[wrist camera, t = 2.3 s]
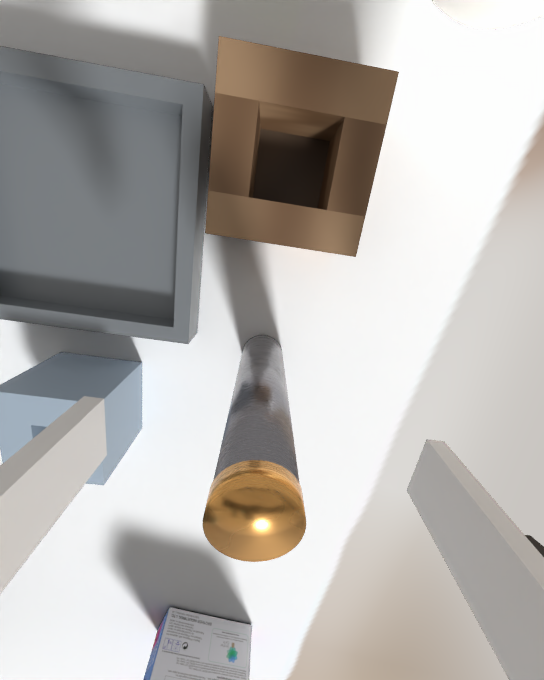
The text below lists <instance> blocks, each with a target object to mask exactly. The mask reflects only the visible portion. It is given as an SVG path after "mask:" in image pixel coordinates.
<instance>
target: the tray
mask: <svg viewBox="0 0 544 680" xmlns="http://www.w3.org/2000/svg"><path fill="white" fill-rule="evenodd" d="M212 108H213V106H212V104H211V101H210V99H209V96H208V94H207V91H206V89H205V86H204V84H199V83H194V82H189V81H183V80H178V79H173V78H167V77H162V76H157V75H152V74H146V73H141V72H136V71H130V70H125V69H120V68H114V67H109V66H104V65H98V64H93V63H88V62H83V61H77V60H72V59H67V58H61V57H56V56H51V55H45V54H40V53H35V52H29V51H24V50H19V49H14V48H8V47H3V46H0V319H4V320H11V321H19V322H26V323H34V324H41V325H49V326H56V327H64V328H71V329H79V330H86V331H94V332H101V333H109V334H117V335H124V336H132V337H139V338H147V339H154V340H162V341H169V342H177V343H184V344H189V343H190V341H191V340H192V339H193V337H194V336H195V335H196V334H197V328H198V313H199V299H200V284H201V269H202V255H203V240H204V225H205V211H206V196H207V182H208V167H209V152H210V138H211V123H212Z"/></svg>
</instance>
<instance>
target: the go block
mask: <svg viewBox="0 0 544 680" xmlns="http://www.w3.org/2000/svg"><path fill="white" fill-rule="evenodd" d="M398 73H399V72H397V71H392V70H387V69H382V68H377V67H372V66H367V65H362V64H357V63H352V62H347V61H342V60H337V59H332V58H327V57H322V56H317V55H312V54H307V53H302V52H297V51H292V50H287V49H282V48H277V47H272V46H267V45H262V44H257V43H252V42H247V41H242V40H237V39H232V38H227V37H222V36H219V42H218V57H217V71H216V85H215V100H214V114H213V128H212V143H211V157H210V171H209V186H208V200H207V215H206V229H205V233H207V234H214V235H220V236H226V237H233V238H239V239H245V240H252V241H258V242H265V243H271V244H277V245H284V246H290V247H296V248H303V249H309V250H316V251H322V252H328V253H335V254H341V255H347V256H354V257H356V254H357V249H358V245H359V241H360V236H361V232H362V228H363V223H364V219H365V215H366V211H367V206H368V202H369V198H370V193H371V189H372V185H373V181H374V176H375V172H376V168H377V163H378V159H379V155H380V150H381V146H382V142H383V138H384V133H385V129H386V125H387V120H388V116H389V112H390V108H391V103H392V99H393V95H394V90H395V86H396V82H397V77H398Z"/></svg>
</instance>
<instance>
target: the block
mask: <svg viewBox="0 0 544 680" xmlns="http://www.w3.org/2000/svg"><path fill="white" fill-rule="evenodd" d="M84 396H88V397H96V398H104V406H105V427H106V447H107V456H106V457H105V458H104V460H103V461H102V462H101V464H100V465H99V466H98V467H97V469H96V470H95V471H94V473H93V474H92V475H91V477H90V478H89V479H88V480H87V482H86V483H87V484H97V485H104V484H105V483H106V481H107V480H108V478H109V477H110V475H111V474H112V472H113V471H114V469H115V468H116V466H117V465H118V463H119V462H120V460H121V459H122V457H123V456H124V454H125V453H126V451H127V450H128V448H129V447H130V445H131V444H132V442H133V441H134V439H135V438H136V436H137V435H138V433H139V432H140V430H141V429H142V362H136V361H128V360H120V359H112V358H104V357H96V356H88V355H80V354H72V353H64V352H60V353H59V354H57V355H55V356H53V357H51V358H49V359H47V360H46V361H44V362H42V363H40V364H38V365H36V366H34V367H33V368H31V369H29V370H27V371H25V372H23V373H21V374H19V375H18V376H16V377H14V378H12V379H10V380H8V381H6V382H5V383H3V384H1V385H0V450H1V456H2V461H3V463H4V462H5V461H7V460H8V459H9V458H10V457H11V456H13V455H14V454H15V453H16V452H17V451H19V450H20V449H21V448H22V447H23V446H25V445H26V444H27V443H28V442H29V441H31V440H32V439H33V438H34V437H35V436H37V435H38V434H39V433H40V432H42V431H43V430H44V429H45V428H46V427H48V426H49V425H50V424H51V423H52V422H54V421H55V420H56V419H57V418H58V417H60V416H61V415H62V414H63V413H64V412H66V411H67V410H68V409H69V408H70V407H72V406H73V405H74V404H75V403H76V402H78V401H79V400H80V399H81V398H82V397H84Z"/></svg>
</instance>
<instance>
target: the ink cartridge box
mask: <svg viewBox="0 0 544 680" xmlns="http://www.w3.org/2000/svg"><path fill="white" fill-rule="evenodd" d="M251 633H252V626H251V625H250V624H244V623H240V622H235V621H230V620H226V619H221V618H216V617H212V616H207V615H203V614H199V613H194V612H189V611H185V610H180V609H176V608H169V609H168V611H167V613H166V615H165V617H164V619H163V621H162V623H161V624H160V626H159V628H158V630H157V634H156V638H155V641H154V645H153V648H152V652H151V655H150V659H149V662H148V666H147V669H146V673H145V676H144V680H249V672H250V651H251Z"/></svg>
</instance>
